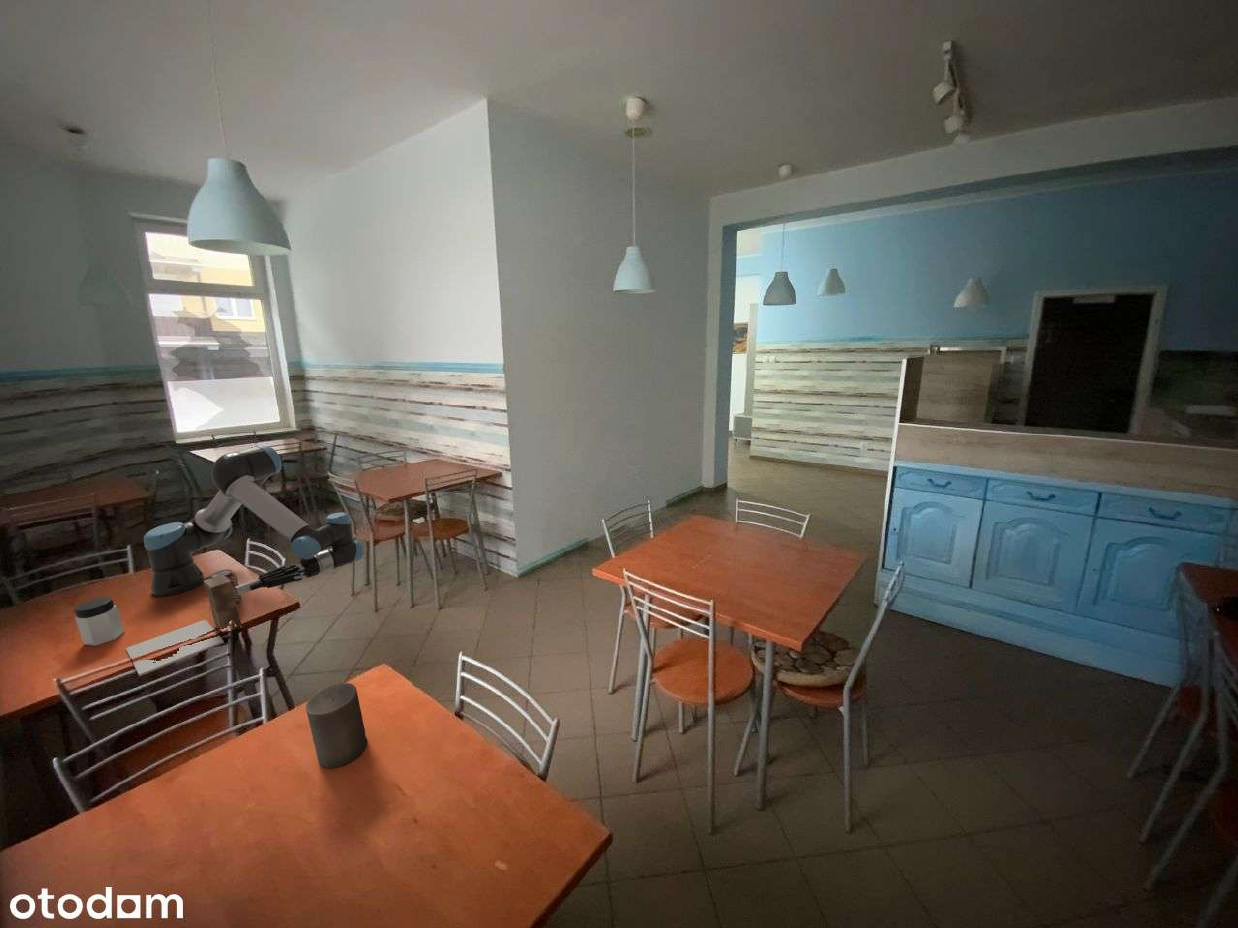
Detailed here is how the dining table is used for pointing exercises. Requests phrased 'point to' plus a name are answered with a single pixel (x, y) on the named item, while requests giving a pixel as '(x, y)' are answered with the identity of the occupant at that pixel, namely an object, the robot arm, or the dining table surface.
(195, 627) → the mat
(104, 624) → the jar
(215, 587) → the walnut block
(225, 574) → the soda can
